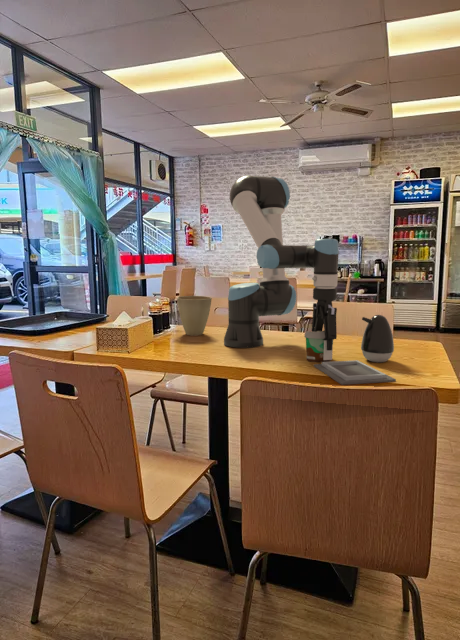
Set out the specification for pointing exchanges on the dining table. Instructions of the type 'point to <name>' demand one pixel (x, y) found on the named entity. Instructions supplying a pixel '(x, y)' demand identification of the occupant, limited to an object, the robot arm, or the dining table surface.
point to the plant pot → (194, 313)
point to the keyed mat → (352, 372)
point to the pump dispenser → (377, 339)
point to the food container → (315, 346)
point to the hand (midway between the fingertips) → (322, 356)
